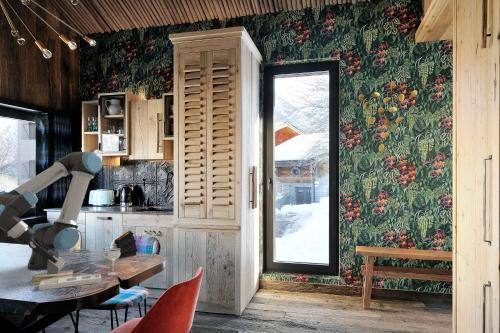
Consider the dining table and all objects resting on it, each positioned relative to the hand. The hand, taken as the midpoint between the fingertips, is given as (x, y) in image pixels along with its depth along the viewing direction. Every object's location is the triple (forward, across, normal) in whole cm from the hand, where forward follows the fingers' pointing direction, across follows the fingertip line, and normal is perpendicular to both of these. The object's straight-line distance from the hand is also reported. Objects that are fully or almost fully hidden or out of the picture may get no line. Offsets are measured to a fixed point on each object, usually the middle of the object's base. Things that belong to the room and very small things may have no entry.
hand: (62, 265), depth 157 cm
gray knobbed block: (0, 0, -5) cm, 5 cm away
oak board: (+2, 0, -7) cm, 7 cm away
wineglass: (+20, +3, +11) cm, 23 cm away
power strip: (+7, +13, -1) cm, 15 cm away
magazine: (+27, -31, +18) cm, 45 cm away
